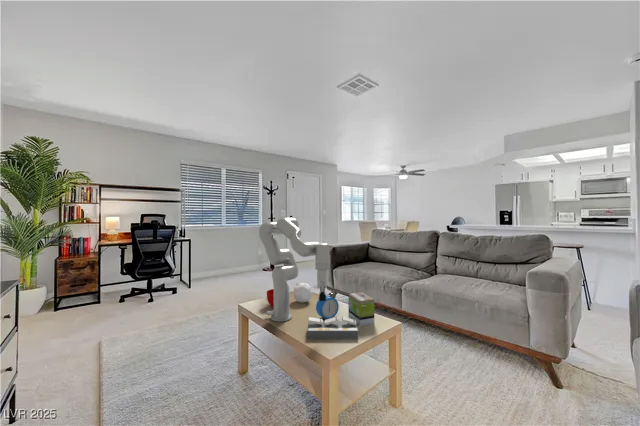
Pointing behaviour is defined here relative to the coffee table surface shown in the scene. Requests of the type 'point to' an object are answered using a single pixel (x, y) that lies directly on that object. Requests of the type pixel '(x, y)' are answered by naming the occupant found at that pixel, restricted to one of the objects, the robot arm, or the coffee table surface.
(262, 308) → the coffee table surface
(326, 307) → the alarm clock
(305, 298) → the geodesic sphere
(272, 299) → the ceramic cup
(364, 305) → the tea box
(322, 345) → the coffee table surface
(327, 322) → the plate
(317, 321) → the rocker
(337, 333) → the switch console
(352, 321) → the rocker
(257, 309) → the coffee table surface
